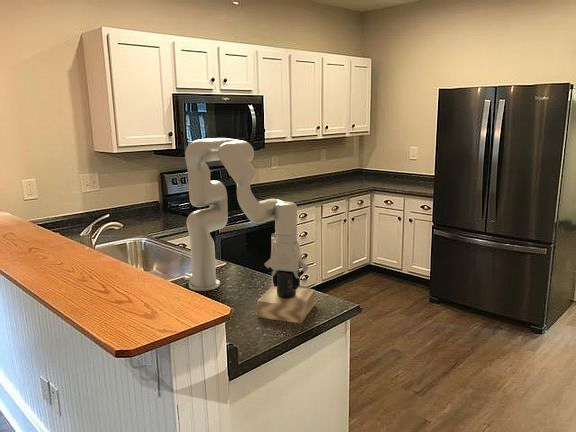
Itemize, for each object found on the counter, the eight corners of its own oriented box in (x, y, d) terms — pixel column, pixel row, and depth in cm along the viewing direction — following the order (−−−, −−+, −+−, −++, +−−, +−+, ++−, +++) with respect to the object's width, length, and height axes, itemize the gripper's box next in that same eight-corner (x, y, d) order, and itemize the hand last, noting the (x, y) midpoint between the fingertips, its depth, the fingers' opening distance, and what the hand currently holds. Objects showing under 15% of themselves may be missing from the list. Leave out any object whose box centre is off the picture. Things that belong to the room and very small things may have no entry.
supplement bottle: (295, 291, 168) (295, 259, 165) (296, 298, 161) (296, 265, 158) (276, 291, 168) (276, 259, 165) (276, 299, 161) (276, 266, 158)
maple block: (257, 317, 161) (257, 300, 159) (273, 299, 175) (273, 284, 174) (301, 323, 156) (301, 306, 154) (314, 305, 171) (314, 289, 169)
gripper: (258, 238, 159) (259, 287, 163) (307, 242, 154) (306, 293, 158) (266, 233, 166) (267, 280, 170) (313, 237, 160) (312, 285, 164)
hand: (286, 286), depth 164 cm, fingers closed on supplement bottle, 6 cm apart
